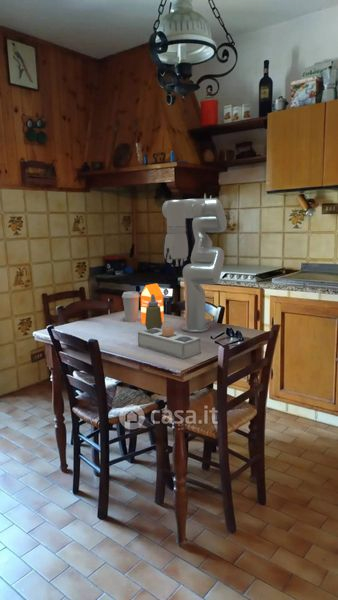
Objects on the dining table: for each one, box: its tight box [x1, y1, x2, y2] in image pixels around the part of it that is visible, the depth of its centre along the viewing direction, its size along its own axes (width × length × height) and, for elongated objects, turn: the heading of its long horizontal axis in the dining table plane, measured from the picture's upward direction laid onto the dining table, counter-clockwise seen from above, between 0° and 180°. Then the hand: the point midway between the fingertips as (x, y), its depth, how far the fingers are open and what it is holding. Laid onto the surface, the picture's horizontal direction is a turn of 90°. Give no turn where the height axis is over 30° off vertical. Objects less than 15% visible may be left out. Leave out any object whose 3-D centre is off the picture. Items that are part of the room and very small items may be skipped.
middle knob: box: [161, 326, 175, 338], centre depth 172 cm, size 5×5×5 cm
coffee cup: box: [121, 290, 141, 323], centre depth 224 cm, size 10×10×15 cm
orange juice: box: [140, 283, 165, 325], centre depth 218 cm, size 8×9×20 cm
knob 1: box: [146, 329, 159, 334], centre depth 179 cm, size 5×5×5 cm
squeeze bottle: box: [144, 294, 163, 330], centre depth 200 cm, size 8×8×18 cm
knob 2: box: [178, 336, 190, 342], centre depth 167 cm, size 5×5×5 cm
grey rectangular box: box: [137, 328, 202, 360], centre depth 173 cm, size 10×26×6 cm, turn 45°
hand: (177, 275), depth 177 cm, fingers closed
